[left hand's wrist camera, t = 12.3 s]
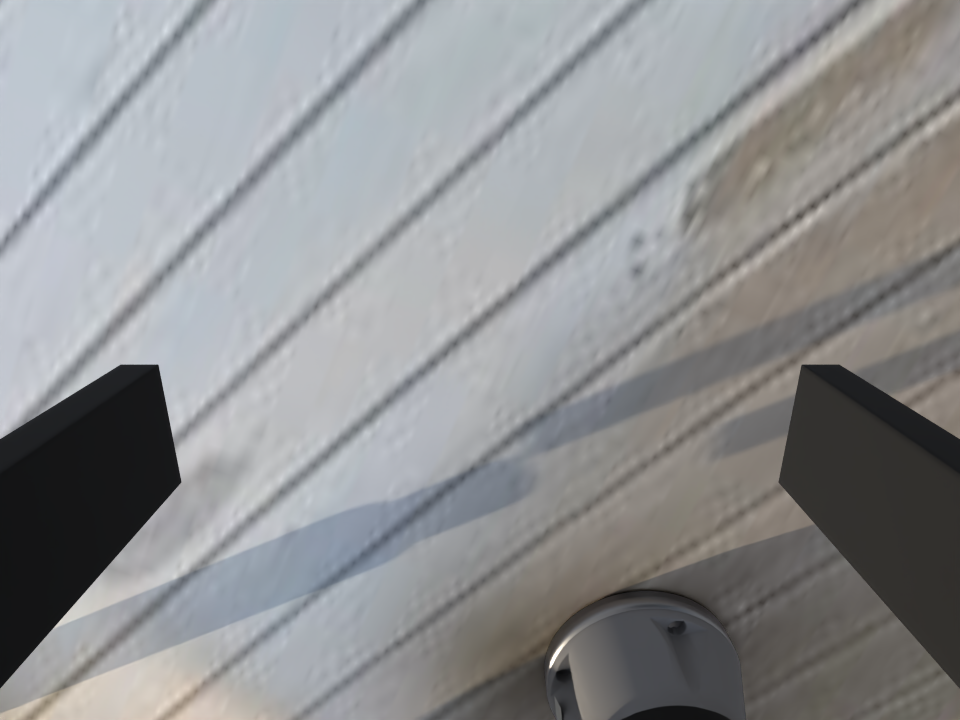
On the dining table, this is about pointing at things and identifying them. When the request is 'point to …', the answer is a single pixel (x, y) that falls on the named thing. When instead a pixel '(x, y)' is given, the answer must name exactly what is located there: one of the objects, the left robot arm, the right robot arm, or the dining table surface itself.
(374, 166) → the dining table surface
